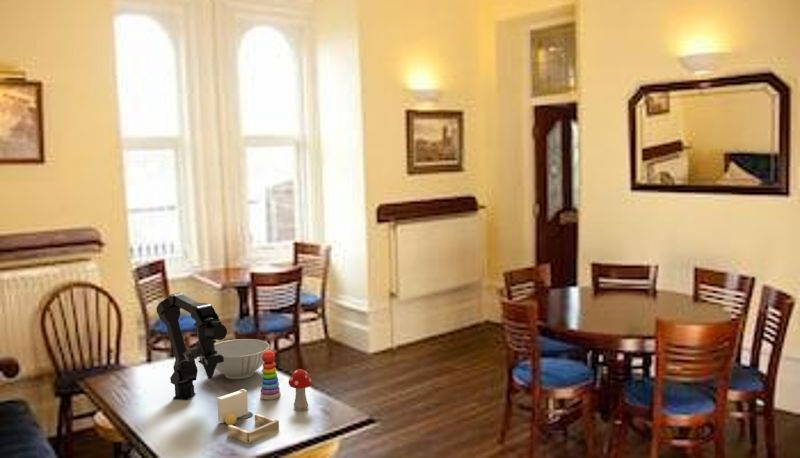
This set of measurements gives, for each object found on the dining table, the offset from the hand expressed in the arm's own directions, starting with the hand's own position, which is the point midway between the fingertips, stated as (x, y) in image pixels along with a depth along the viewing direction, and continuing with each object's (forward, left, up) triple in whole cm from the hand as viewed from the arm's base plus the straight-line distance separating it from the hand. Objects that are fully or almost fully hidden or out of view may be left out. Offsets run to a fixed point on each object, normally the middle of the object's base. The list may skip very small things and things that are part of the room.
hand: (210, 378), depth 256 cm
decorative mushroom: (+34, +6, -12) cm, 36 cm away
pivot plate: (+15, -4, -12) cm, 19 cm away
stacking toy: (+18, +15, -12) cm, 26 cm away
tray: (+25, -18, -12) cm, 33 cm away
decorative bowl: (-7, +38, -12) cm, 41 cm away
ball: (+14, -13, -10) cm, 22 cm away
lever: (+13, -8, -11) cm, 19 cm away
